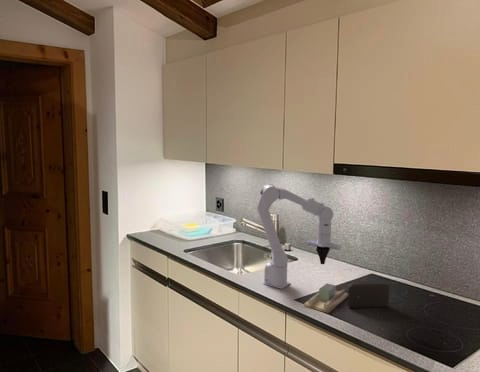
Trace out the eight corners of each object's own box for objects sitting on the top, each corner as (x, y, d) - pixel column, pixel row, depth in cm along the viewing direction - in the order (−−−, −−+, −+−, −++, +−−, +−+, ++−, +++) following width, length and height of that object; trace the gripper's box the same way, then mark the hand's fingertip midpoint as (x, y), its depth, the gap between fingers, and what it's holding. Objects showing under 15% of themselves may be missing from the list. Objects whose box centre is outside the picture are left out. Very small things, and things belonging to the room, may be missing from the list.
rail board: (304, 306, 154) (304, 299, 153) (325, 289, 170) (325, 284, 169) (328, 313, 148) (328, 306, 147) (348, 295, 164) (348, 289, 164)
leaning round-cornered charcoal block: (384, 302, 158) (385, 279, 156) (389, 307, 153) (391, 284, 152) (344, 304, 156) (345, 281, 155) (348, 309, 151) (349, 285, 150)
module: (318, 299, 157) (319, 288, 157) (326, 293, 163) (326, 283, 162) (328, 302, 155) (328, 291, 154) (335, 296, 161) (336, 285, 160)
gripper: (304, 233, 173) (303, 263, 174) (338, 237, 166) (337, 269, 168) (309, 229, 179) (308, 259, 181) (342, 233, 172) (341, 264, 174)
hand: (322, 263), depth 175 cm, fingers closed
